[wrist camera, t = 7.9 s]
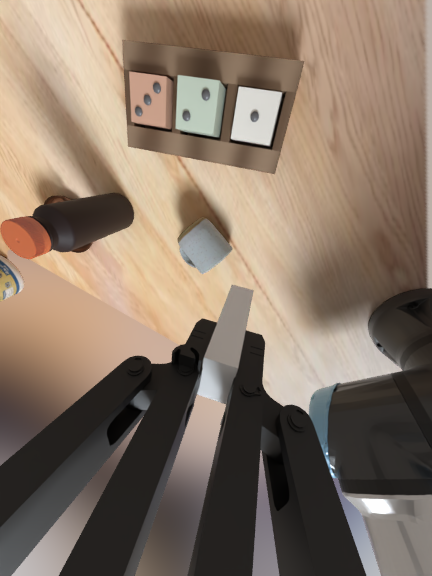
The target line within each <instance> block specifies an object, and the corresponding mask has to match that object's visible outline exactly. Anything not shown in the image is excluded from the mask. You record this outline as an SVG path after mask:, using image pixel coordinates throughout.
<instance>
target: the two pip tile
mask: <svg viewBox="0 0 432 576" xmlns="http://www.w3.org/2000/svg"><path fill="white" fill-rule="evenodd" d="M225 94H226V89H225V87H224V86H223V85H222V83H221V82H220V81H219V80H212V79H205V78H197V77H190V76H182V75H178V83H177V106H176V129H178V130H181V131H184V132H189V133H194V134H200V135H206V136H212V137H218V138H220V132H221V124H222V117H223V109H224V102H225Z"/></svg>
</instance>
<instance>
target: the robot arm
mask: <svg viewBox="0 0 432 576" xmlns="http://www.w3.org/2000/svg"><path fill="white" fill-rule="evenodd" d="M253 291H254V290H250V289H247V288H243V287H239V286H235V285H232V286H231V289H230V291H229V294H228V296H227V299H226V302H225V304H224V307H223V309H222V312H221V315H220V317H219V320H218V322H217V323H216V322H213V321H210V320H206V319H201V320H200V321H198V322H197V323H196V325H195V327H194V329H193V330H192V332H191V334H190V336H189V338H188V340H187V342H186V344H184V345H180V346H178V347H176V348H175V349H174V350H173V352H172V362H170V363H167V364H151V362H150V360H149V359H148V358H146V357H143V356H133V357H130V358H128V359H127V360H125V361H124V362H122V363H121V364H120V365H119V366H118V367H117V368H115V369H114V370H113V371H112V372H111V373H109V374H108V375H107V376H106V377H105V378H104V379H103V380H101V381H100V382H99V383H98V384H97V385H95V386H94V387H93V388H92V389H91V390H90V391H88V392H87V393H86V394H85V395H83V396H82V397H81V398H80V399H79V400H78V401H76V402H75V403H74V404H73V405H72V406H71V407H69V408H68V409H67V410H66V411H65V412H63V413H62V414H61V415H60V416H59V417H58V418H56V419H55V420H54V421H53V422H52V423H50V424H49V425H48V426H47V427H46V428H45V429H43V430H42V431H41V432H40V433H39V434H37V435H36V436H35V437H34V438H33V439H32V440H30V441H29V442H28V443H27V444H26V445H25V446H23V447H22V448H21V449H20V450H19V451H17V452H16V453H15V454H14V455H13V456H11V457H10V458H9V459H8V460H7V461H6V462H4V463H3V464H2V465H1V466H0V576H11V575H12V574H13V573H14V572H15V570H16V569H17V568H18V567H19V566H20V564H21V563H22V562H23V561H24V559H25V558H26V557H27V556H28V555H29V553H30V552H31V551H32V550H33V549H34V548H35V546H36V545H37V544H38V542H39V541H40V540H41V539H42V538H43V536H44V535H45V534H46V533H47V532H48V531H49V529H50V528H51V527H52V526H53V525H54V523H55V522H56V521H57V520H58V519H59V517H60V516H61V515H62V514H63V512H64V511H65V510H66V509H67V507H68V506H69V505H70V504H71V503H72V501H73V500H74V499H75V498H76V496H78V494H79V493H80V492H81V491H82V490H83V488H84V487H85V486H86V485H87V483H88V482H89V481H90V480H91V479H92V477H93V476H94V475H95V474H96V473H97V471H98V470H99V469H100V468H101V467H102V465H103V464H104V463H105V462H106V461H107V459H108V458H109V457H110V456H111V455H112V453H113V452H114V451H115V450H116V449H117V447H118V446H119V445H120V444H121V442H122V441H123V440H124V439H125V438H126V436H127V435H128V434H129V433H130V431H131V430H132V429H133V428H134V427H135V425H136V424H137V423H138V422H139V421H140V420H141V418H142V417H143V416H144V417H143V419H142V420H141V422H140V424H139V426H138V428H137V430H136V432H135V434H134V435H133V437H132V439H131V441H130V443H129V445H128V447H127V449H126V451H125V453H124V454H123V456H122V458H121V460H120V462H119V464H118V465H117V467H116V469H115V471H114V473H113V475H112V477H111V479H110V480H109V482H108V484H107V486H106V488H105V490H104V492H103V494H102V496H101V497H100V499H99V501H98V503H97V505H96V507H95V509H94V510H93V512H92V514H91V516H90V518H89V520H88V522H87V524H86V525H85V527H84V529H83V531H82V533H81V535H80V537H79V539H78V541H77V542H76V544H75V546H74V548H73V550H72V552H71V554H70V556H69V557H68V559H67V561H66V563H65V565H64V567H63V569H62V571H61V572H60V575H59V576H135V573H136V570H137V567H138V564H139V562H140V559H141V556H142V553H143V550H144V547H145V544H146V541H147V539H148V536H149V533H150V530H151V527H152V524H153V521H154V518H155V515H156V513H157V510H158V507H159V504H160V501H161V498H162V496H163V492H164V490H165V487H166V484H167V481H168V478H169V475H170V473H171V470H172V467H173V464H174V461H175V458H176V455H177V452H178V450H179V447H180V444H181V441H182V438H183V435H184V432H185V429H186V427H187V424H188V421H189V418H190V415H191V412H192V409H193V406H194V401H195V398H196V395H197V394H198V395H200V396H203V397H206V398H209V399H212V400H215V401H218V402H221V403H224V404H226V408H225V412H224V415H223V418H222V421H221V428H220V432H219V437H218V441H217V446H216V450H215V455H214V460H213V464H212V468H211V473H210V477H209V482H208V486H207V491H206V495H205V500H204V504H203V509H202V514H201V518H200V522H199V527H198V531H197V535H196V540H195V545H194V549H193V554H192V558H191V562H190V567H189V572H188V576H252V568H253V552H254V538H255V522H256V508H257V493H258V478H259V477H258V476H259V462H260V450H262V456H263V463H264V470H265V477H266V484H267V491H268V498H269V505H270V511H271V519H272V525H273V532H274V539H275V547H276V554H277V560H278V568H279V574H280V576H366V573H365V571H364V568H363V565H362V562H361V559H360V556H359V553H358V550H357V547H356V545H355V542H354V539H353V536H352V533H351V530H350V528H349V525H348V522H347V519H346V516H345V514H344V510H343V508H342V504H341V502H340V499H339V496H338V493H337V490H336V487H335V485H334V481H333V479H332V477H333V478H338V480H339V483H340V487H341V490H342V493H343V496H345V497H346V498H347V499H348V500H349V501H350V502H351V503H352V504H353V505H354V506H355V507H356V508H357V509H358V510H359V511H360V513H361V514H362V517H363V521H364V523H365V526H366V530H367V533H368V536H369V539H370V542H371V545H372V548H373V552H374V555H375V558H376V561H377V564H378V567H379V570H380V573H381V576H432V289H431V288H430V289H418V290H412V291H408V292H405V293H402V294H399V295H397V296H395V297H393V298H391V299H389V300H387V301H386V302H384V303H383V304H382V305H381V306H379V307H378V308H377V309H376V311H375V312H374V313H373V315H372V316H371V318H370V321H369V326H368V330H369V334H370V337H371V339H372V340H373V342H374V344H375V346H376V347H377V348H378V349H379V350H380V351H381V352H382V353H383V354H384V355H385V356H387V357H388V358H389V359H390V360H391V361H393V362H394V363H395V364H396V365H398V366H399V367H400V368H401V369H402V370H403V371H401V372H396V373H391V374H387V375H382V376H377V377H372V378H367V379H362V380H357V381H352V382H347V383H343V384H341V383H336V384H334V385H333V386H330V387H326V388H322V389H319V390H317V391H316V392H315V393H314V394H313V395H312V397H311V401H310V405H309V415H308V414H307V413H306V412H305V411H304V410H303V409H301V408H300V407H298V406H295V405H286V406H284V407H283V406H282V405H280V404H279V403H277V402H276V401H274V400H273V399H272V398H271V397H270V396H269V395H268V394H267V393H266V391H265V390H264V387H263V384H262V377H263V363H264V350H265V341H264V339H263V337H262V335H260V334H256V333H253V332H249V331H246V326H247V321H248V316H249V311H250V306H251V301H252V296H253Z"/></svg>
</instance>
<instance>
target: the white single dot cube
mask: <svg viewBox="0 0 432 576" xmlns="http://www.w3.org/2000/svg"><path fill="white" fill-rule="evenodd" d="M281 101H282V92H276V91H268V90H261V89H254V88H247V87H239V89H238V95H237V102H236V108H235V114H234V121H233V127H232V134H231V139H232V140H234V141H238V142H243V143H249V144H255V145H261V146H267V147H270V146H271V142H272V138H273V134H274V130H275V126H276V122H277V118H278V113H279V109H280V105H281Z"/></svg>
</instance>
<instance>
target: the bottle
mask: <svg viewBox="0 0 432 576" xmlns="http://www.w3.org/2000/svg"><path fill="white" fill-rule="evenodd" d="M133 219H134V212H133V208H132V206H131V204H130V202H129V201H128V200H127V199H126V198H125V197H124V196H122V195H121V194H117V193H110V194H104V195H98V196H92V197H86V198H80V199H75V200H69V201H63V202H57V203H51V204H45V205H40V206H39V207H38V208H36V209H35V211H34V213H33V216H26V217H19V218H14V219H9V220H5V221H4V222H2V224H1V228H0V229H1V234H2V237H3V239H4V241H5V243H6V244H7V245H8V247H9V248H10V249H11V250H12V251H13V252H14V253H15V254H17V255H19V256H20V257H23V258H26V259H32V258H35V257H37V256H40V255H43V254H45V253H47V252H49V251H51V250H52V249H53V250H56V251H59V252H69V251H72V250H74V249H77V248H79V247H82V246H84V245H86V244H89V243H91V242H94V241H96V240H98V239H101V238H103V237H106V236H108V235H110V234H113V233H115V232H118V231H120V230H122V229H125V228H127V227H129V226H130V225H131V224H132V222H133Z"/></svg>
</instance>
